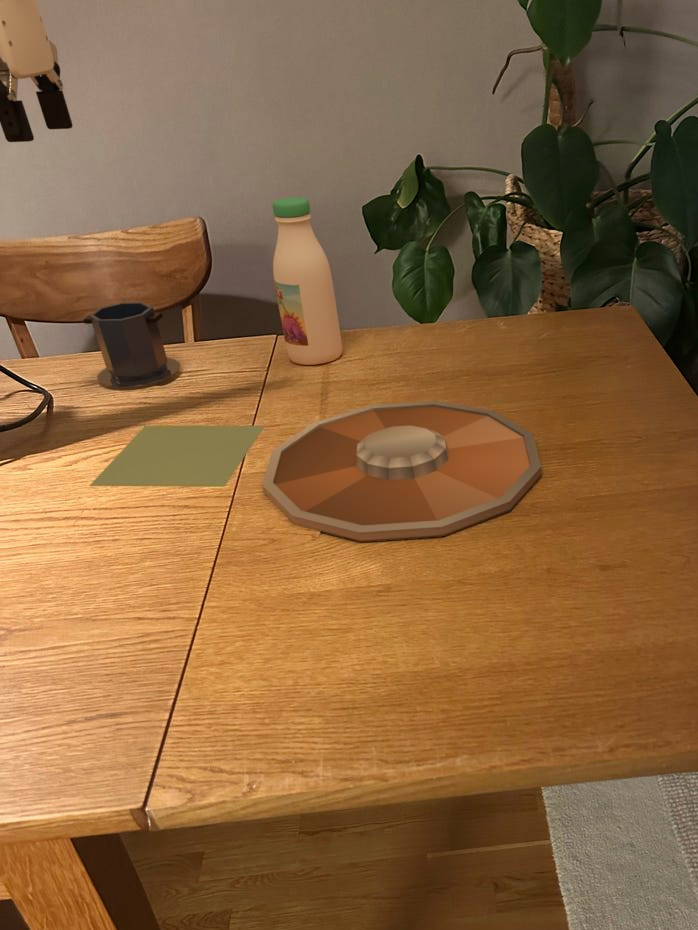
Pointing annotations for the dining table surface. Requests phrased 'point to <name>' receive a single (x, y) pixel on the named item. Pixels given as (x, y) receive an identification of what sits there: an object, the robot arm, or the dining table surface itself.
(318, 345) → the milk bottle
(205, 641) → the dining table surface
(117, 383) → the disc
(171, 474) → the cloth
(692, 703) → the dining table surface
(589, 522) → the dining table surface
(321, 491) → the shield
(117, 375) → the pot
